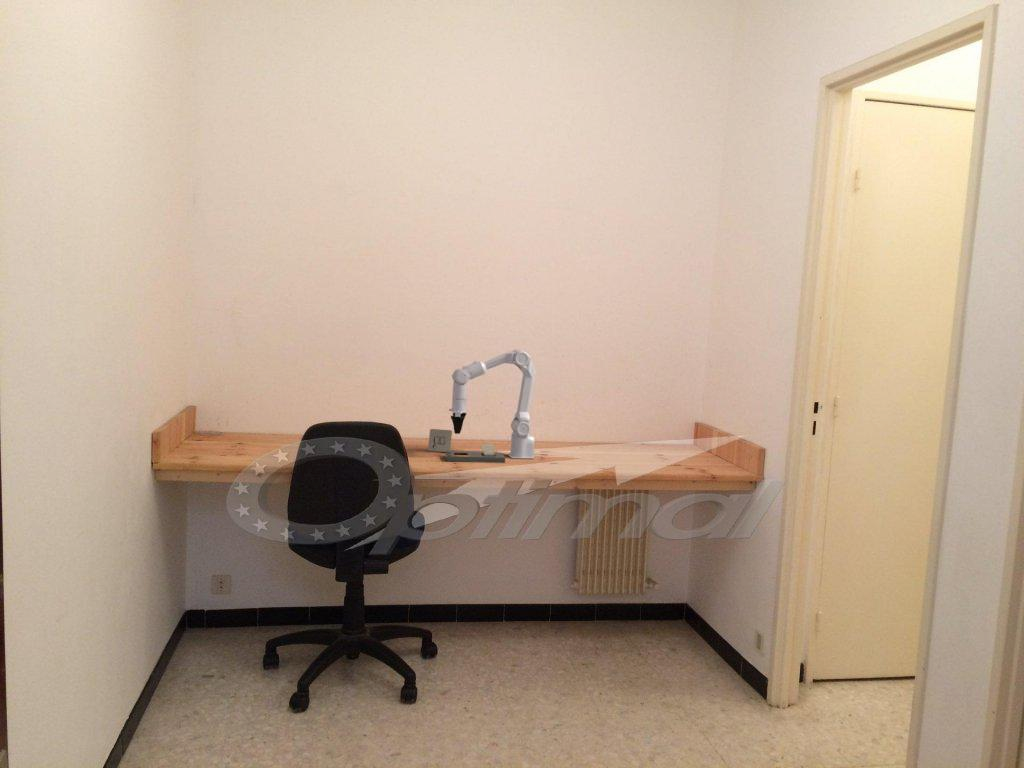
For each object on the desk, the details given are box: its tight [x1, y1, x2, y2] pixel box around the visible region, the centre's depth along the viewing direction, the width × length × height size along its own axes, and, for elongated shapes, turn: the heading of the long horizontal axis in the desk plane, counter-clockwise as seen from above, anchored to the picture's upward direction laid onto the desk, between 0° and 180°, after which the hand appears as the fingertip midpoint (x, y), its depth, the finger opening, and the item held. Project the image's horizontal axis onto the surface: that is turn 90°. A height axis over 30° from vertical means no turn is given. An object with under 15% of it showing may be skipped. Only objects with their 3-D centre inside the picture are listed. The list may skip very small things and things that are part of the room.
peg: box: [482, 443, 496, 456], centre depth 316 cm, size 4×4×6 cm
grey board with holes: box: [444, 451, 506, 464], centre depth 315 cm, size 23×10×2 cm, turn 101°
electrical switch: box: [427, 428, 453, 453], centre depth 328 cm, size 9×5×9 cm, turn 85°
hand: (457, 432), depth 319 cm, fingers open, 7 cm apart
